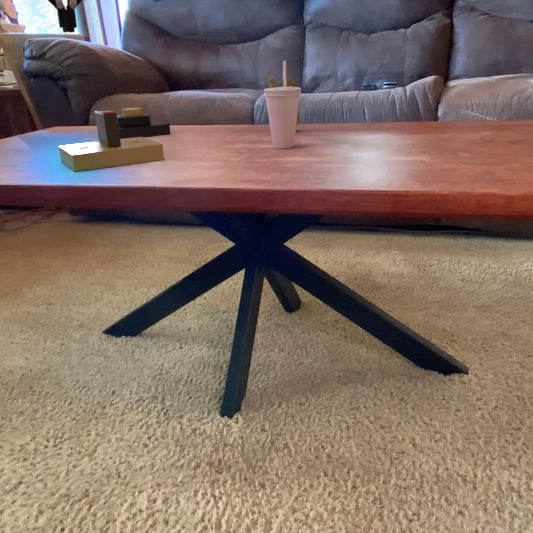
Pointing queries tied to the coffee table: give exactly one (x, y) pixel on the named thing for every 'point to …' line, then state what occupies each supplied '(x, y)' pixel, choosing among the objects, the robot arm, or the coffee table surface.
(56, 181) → the coffee table surface
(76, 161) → the plate
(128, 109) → the bell button
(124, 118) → the block
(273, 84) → the snail figurine
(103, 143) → the lock turn
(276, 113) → the smoothie
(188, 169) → the coffee table surface
